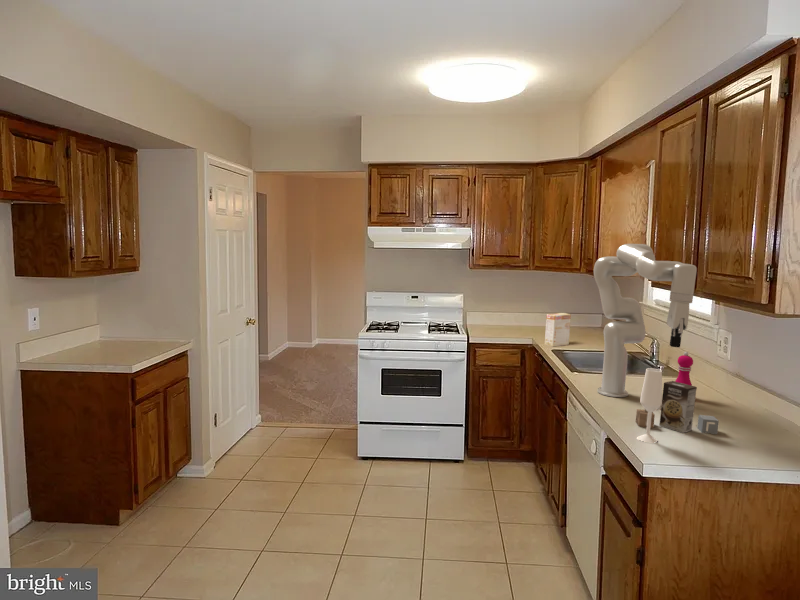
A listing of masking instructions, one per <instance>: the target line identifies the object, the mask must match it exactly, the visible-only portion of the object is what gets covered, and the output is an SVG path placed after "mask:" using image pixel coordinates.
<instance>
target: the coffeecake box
mask: <svg viewBox="0 0 800 600" xmlns="http://www.w3.org/2000/svg"><path fill="white" fill-rule="evenodd" d="M571 318H572V314H570V313H566V312H556V313H546V320H545V333H544V334H545V335H544V346H548V347H560V346H561V347H562V346H569V343H570V333H571V320H572V319H571Z"/></svg>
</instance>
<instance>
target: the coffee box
mask: <svg viewBox="0 0 800 600" xmlns="http://www.w3.org/2000/svg"><path fill="white" fill-rule="evenodd" d="M675 381H676V380H675ZM675 381H674V380H671V381H665V382H663V386H662V405H661V406H660V416H659V427H663V428H667V429H669V430H673V431H676V432H679V433H682V434H684V433H688V432H690V431H692V430H693V429H692V428H693V422H694V412H695V406H696V405H695V402H696V398H697V397H696V395H697V390H698V388H697V386H695V385H692V386H691V385H687V384H683V383H679V382H675Z"/></svg>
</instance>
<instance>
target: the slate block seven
mask: <svg viewBox="0 0 800 600" xmlns="http://www.w3.org/2000/svg"><path fill="white" fill-rule="evenodd" d="M719 422H720V421H719V420H718V419H717V417H715V416H714V415H704V414H698V418H697V425H696V428H697V429H698V431H699V432H700V433H701V434H709V433H711V435H712V434H713V435H718V431H719Z"/></svg>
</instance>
